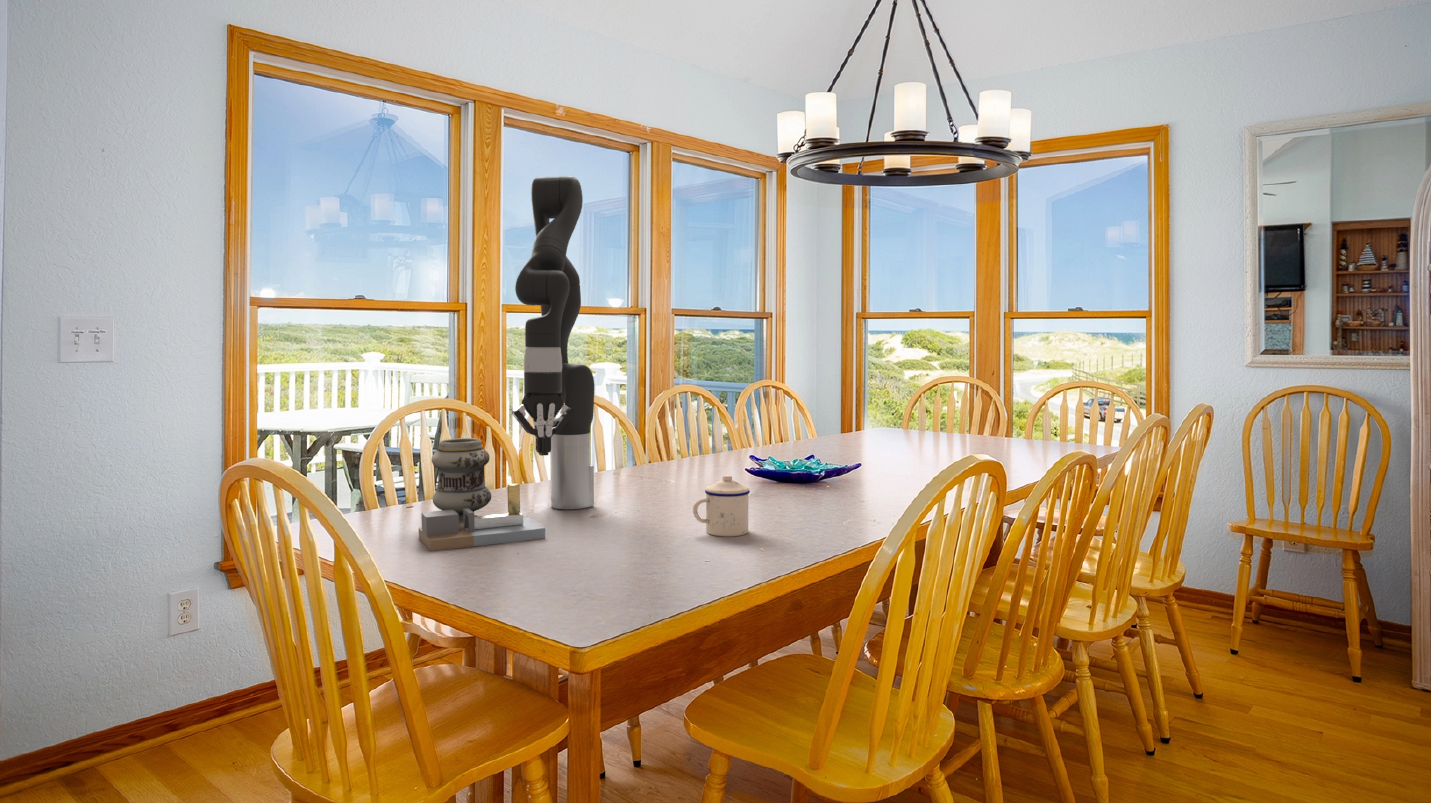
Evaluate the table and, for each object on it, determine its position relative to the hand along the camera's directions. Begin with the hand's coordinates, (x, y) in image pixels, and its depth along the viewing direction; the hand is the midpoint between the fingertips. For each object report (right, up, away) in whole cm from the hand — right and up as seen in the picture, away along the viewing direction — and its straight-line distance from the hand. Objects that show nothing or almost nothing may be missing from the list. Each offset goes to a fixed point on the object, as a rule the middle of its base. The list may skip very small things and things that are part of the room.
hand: (543, 454), depth 182 cm
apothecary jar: (-19, -15, +8) cm, 25 cm away
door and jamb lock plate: (-11, -16, -5) cm, 20 cm away
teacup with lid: (+36, -16, 0) cm, 40 cm away
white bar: (-9, -14, -3) cm, 17 cm away
